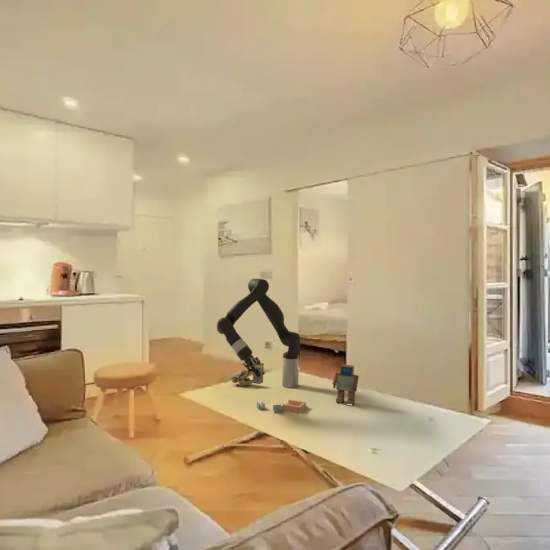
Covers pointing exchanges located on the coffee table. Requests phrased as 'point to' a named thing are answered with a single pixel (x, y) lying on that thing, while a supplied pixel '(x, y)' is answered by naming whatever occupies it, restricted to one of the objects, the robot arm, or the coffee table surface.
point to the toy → (346, 383)
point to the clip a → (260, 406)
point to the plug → (260, 368)
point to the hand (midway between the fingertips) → (261, 375)
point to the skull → (242, 377)
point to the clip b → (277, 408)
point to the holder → (294, 406)
